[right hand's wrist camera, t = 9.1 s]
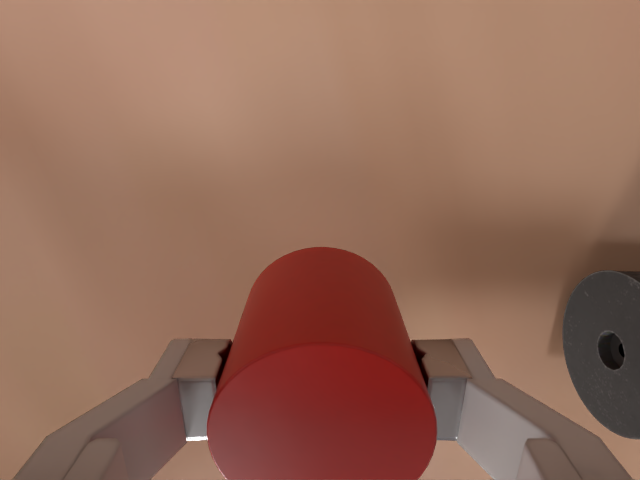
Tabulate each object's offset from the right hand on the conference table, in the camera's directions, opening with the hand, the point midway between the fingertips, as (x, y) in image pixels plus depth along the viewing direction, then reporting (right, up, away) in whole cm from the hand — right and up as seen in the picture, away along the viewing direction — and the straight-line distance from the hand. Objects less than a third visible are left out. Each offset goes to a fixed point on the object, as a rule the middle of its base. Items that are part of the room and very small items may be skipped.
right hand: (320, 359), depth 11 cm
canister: (0, +1, +2) cm, 2 cm away
